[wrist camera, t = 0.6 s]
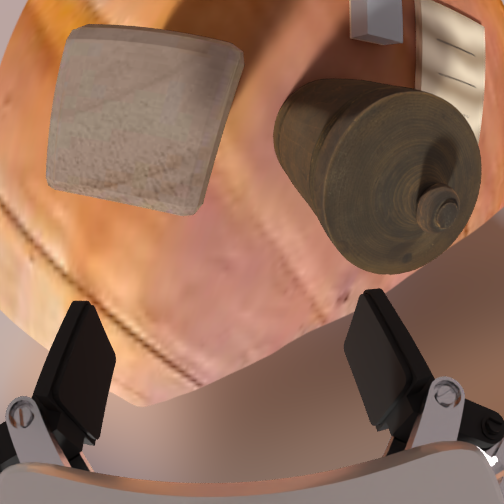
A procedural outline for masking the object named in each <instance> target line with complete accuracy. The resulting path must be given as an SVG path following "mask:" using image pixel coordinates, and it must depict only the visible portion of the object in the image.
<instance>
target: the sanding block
mask: <svg viewBox="0 0 504 504" xmlns="http://www.w3.org/2000/svg"><path fill="white" fill-rule="evenodd" d="M349 12H350V39H356V40H361V41H366V42H371V43H375V44H380V45H388V44H397V43H403V16H402V0H349Z"/></svg>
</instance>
